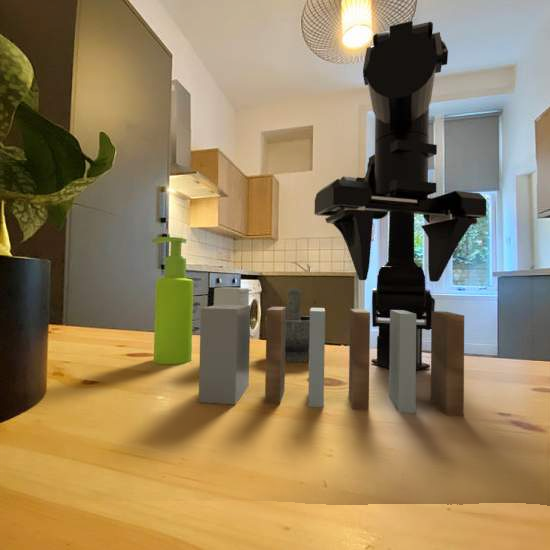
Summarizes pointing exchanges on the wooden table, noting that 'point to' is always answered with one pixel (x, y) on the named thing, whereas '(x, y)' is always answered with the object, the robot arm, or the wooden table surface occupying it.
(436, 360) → the domino
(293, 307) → the mortar and pestle
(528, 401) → the wooden table surface
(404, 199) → the robot arm
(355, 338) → the domino
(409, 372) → the domino
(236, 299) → the skincare box
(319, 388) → the domino
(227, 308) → the bookend
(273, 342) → the domino
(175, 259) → the soap dispenser
